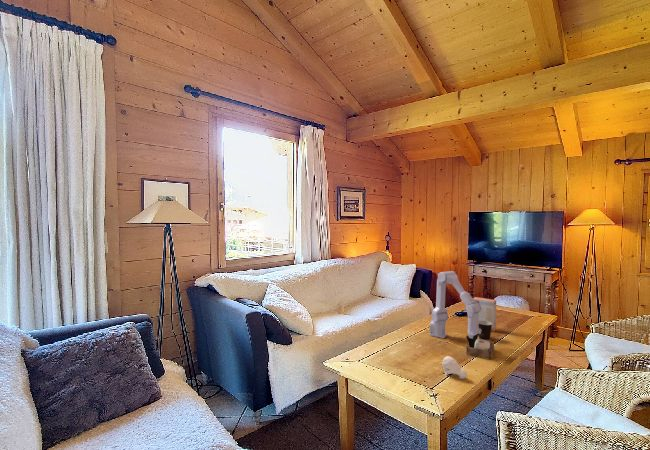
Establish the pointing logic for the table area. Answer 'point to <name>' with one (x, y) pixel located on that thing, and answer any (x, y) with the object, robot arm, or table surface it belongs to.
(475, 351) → the cradle
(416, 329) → the table surface
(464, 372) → the white rounded piece
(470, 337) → the robot arm
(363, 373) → the table surface
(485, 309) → the cracker box
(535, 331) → the table surface
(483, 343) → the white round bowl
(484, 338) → the coffee mug
